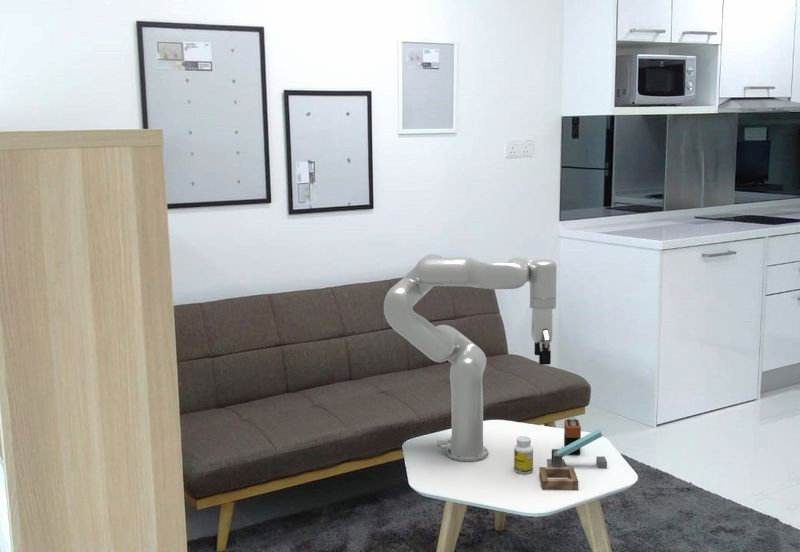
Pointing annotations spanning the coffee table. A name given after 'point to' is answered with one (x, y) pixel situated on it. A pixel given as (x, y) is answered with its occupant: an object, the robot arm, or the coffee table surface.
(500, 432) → the coffee table surface
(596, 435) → the latch bar
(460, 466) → the coffee table surface
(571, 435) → the battery
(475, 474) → the coffee table surface
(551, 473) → the socket
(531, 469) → the supplement bottle
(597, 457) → the latch bracket
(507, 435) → the coffee table surface
